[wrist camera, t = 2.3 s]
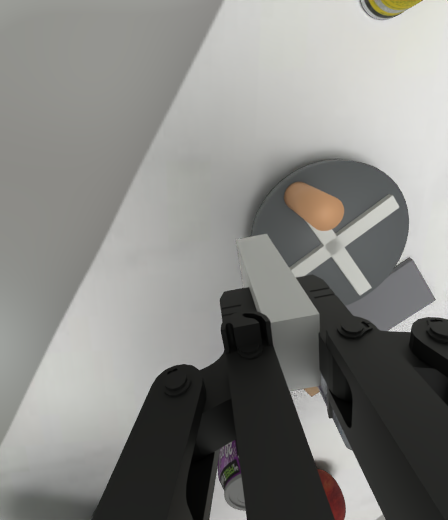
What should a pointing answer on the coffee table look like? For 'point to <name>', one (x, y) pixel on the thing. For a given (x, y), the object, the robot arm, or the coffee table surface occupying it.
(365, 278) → the handwheel
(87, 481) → the coffee table surface
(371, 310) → the rest mat
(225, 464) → the beverage can
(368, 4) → the supplement bottle
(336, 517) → the apple
